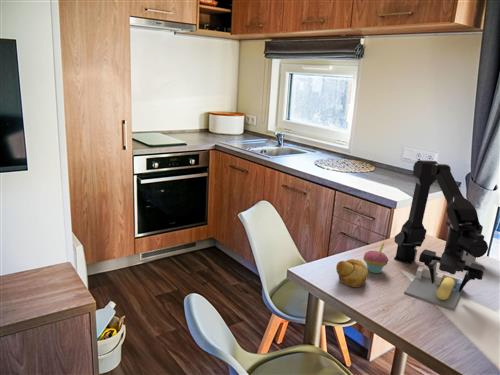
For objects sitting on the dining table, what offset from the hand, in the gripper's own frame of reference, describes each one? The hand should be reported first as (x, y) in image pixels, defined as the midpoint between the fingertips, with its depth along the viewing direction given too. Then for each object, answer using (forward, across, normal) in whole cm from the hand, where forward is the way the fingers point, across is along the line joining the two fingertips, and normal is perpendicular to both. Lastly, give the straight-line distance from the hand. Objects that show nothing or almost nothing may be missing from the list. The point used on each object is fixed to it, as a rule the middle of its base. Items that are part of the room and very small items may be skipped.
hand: (445, 287), depth 139 cm
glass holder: (+3, 0, +33) cm, 33 cm away
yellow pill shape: (+2, 0, 0) cm, 2 cm away
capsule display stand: (+3, -3, 0) cm, 4 cm away
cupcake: (+3, -24, +1) cm, 24 cm away
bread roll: (+3, -27, -12) cm, 30 cm away
